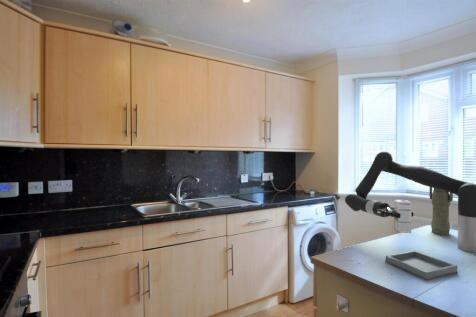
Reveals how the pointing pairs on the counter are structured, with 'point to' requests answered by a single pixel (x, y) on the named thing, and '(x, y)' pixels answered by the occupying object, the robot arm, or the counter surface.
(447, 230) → the thermos
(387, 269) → the counter surface
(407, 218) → the syrup box
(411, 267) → the slate tray
